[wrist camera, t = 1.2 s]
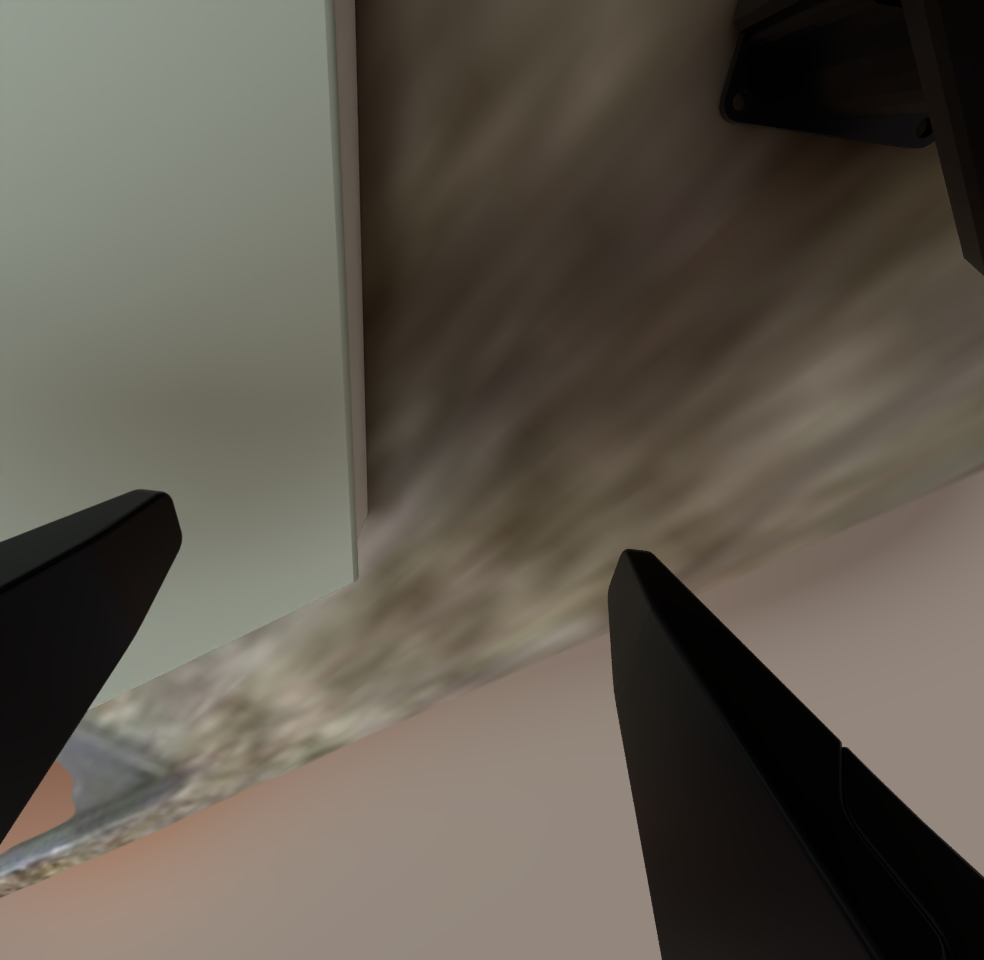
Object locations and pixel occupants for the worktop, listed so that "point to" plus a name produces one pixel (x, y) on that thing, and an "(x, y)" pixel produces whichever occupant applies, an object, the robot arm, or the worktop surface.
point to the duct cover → (179, 298)
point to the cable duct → (352, 239)
